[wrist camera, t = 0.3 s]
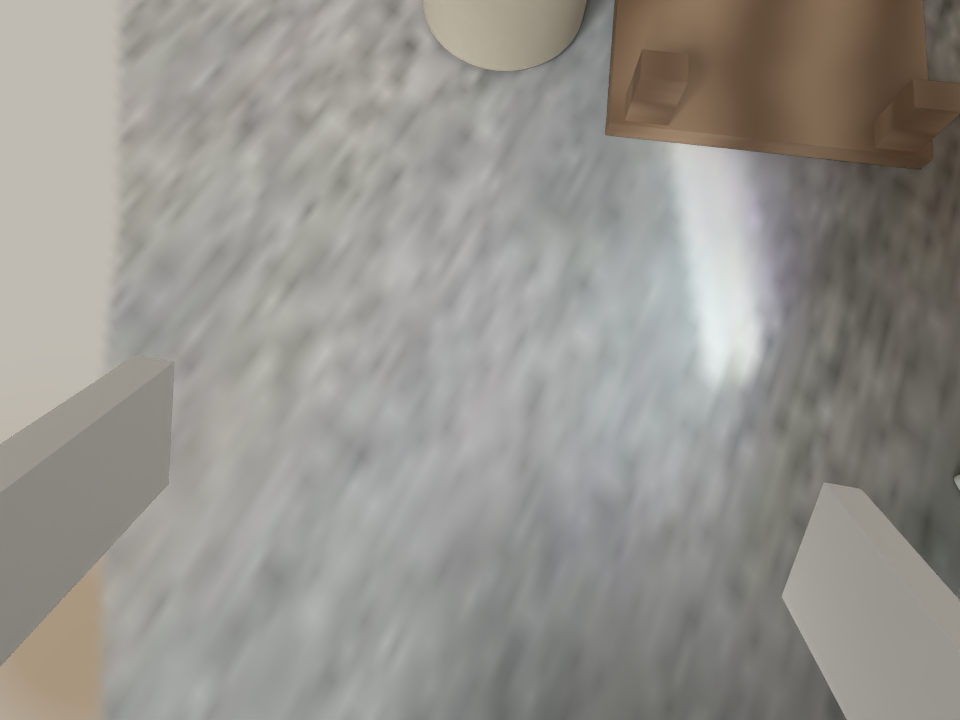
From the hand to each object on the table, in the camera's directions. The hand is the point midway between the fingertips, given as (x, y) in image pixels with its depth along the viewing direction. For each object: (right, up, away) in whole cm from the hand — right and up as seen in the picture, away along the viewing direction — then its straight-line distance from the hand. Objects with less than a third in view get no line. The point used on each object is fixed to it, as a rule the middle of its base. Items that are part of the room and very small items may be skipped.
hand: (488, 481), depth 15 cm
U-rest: (+14, +18, +22) cm, 32 cm away
